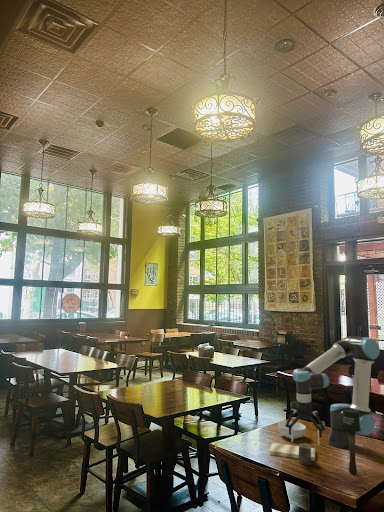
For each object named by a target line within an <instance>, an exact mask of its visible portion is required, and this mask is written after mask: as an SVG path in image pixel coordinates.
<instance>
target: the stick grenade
mask: <svg viewBox="0 0 384 512" xmlns="http://www.w3.org/2000/svg"><path fill="white" fill-rule="evenodd" d="M342 428H343V429H344V430H347V431H348V438H349V449H348V451H349V463H348V472H349V474H351V475H357V473H358V469H357V462H356V432H359V431H361V428H360V414H359V411H358V410H355V409H343V427H342Z"/></svg>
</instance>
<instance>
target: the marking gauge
mask: <svg viewBox="0 0 384 512" xmlns="http://www.w3.org/2000/svg"><path fill="white" fill-rule="evenodd" d="M298 446H299V459H298V464H299V463H300V464H301V465H308V466H312V460H311V448H312V445H311V444H308V443H298Z"/></svg>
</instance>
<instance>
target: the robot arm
mask: <svg viewBox="0 0 384 512" xmlns="http://www.w3.org/2000/svg"><path fill="white" fill-rule="evenodd" d="M380 353H381V352H380V345H379V343H378V342H377V341H376V339H374V338H371V337H366V336H365V337H364V336H355V335H349V336H346V337H343V338H342V339H339V340H338V341H336V342H335V343H333V344H332V347H331V348H330V349H328V350H326V351H325V352H324V353H322V354H320V355H319V356H318V357H316V358H315V359H314V360H312V361H311V362H310V363H308V364H307V365H306V366H304V367H303V368H301V369H300V368H296V369H294V370H293V371H292V379H293V380H294V381H295V383H296V409H294V408H291V410H290V415H289V417H288V419H287V420H286V421H287V422H286V425H285V426H286V427H288V428H289V435H291V439H290V440H291V441H290V442H292V443H293V442H294V439H293V428H292V426H293V425H294V424H295V423H296V422H297V423H298V421H299V420H300V419H301V420H306V421H308V420H309V421H310V422H311V423H312V424H313V425H314V427H315V428H316V429H317V445H318V446H319V445H320V442H321V441H320V439H321V438H322V436H323V435H322V432H324V431H326V428H325V426H324V423H323V421H322V420H321V418H320V416H319V411H318V410H314V411H313V408H312V390H316V389H324V388H327V387H329V385H330V378H329V376H328V375H327V373H322V372H323V371H325V370H326V369H328V368H329V367H330V366H331V365H333V364H334V363H336V362H337V361H339V360H340V359H344V358H345V357H348V356H352V359H353V361H354V373H353V374H354V375H353V385H352V386H353V389H352V399H351V401H352V402H351V403H350V404H349V403H333V404H331V405H330V411H329V415H330V431H329V434H328V438H327V443H328V444H329V445H330V446H332V447H335V448H339V449H345V450H346V449H347V450H349V438H348V431H347V430H344V429H343V428H342V427H343V409H355V410H358V411H359V414H360V428H361V431H359V432H355V434H358V435H362V436H368V435H370V434H371V433H372V432H373V430H375V425H376V421H375V419H374V417H373V416H372V415H371V414H372V413H371V412H372V410H371V409H370V407H369V402H370V400H369V399H370V386H371V375H372V374H371V372H372V364H375V359H377V358H378V357H379V356H380ZM294 415H297V416H296V417H295V418H294V420H292V418H293V416H294ZM312 416H314V417H315V419H316V420H317V422H316V420H315V419H314V418H313V417H312ZM291 420H292V421H291ZM290 421H291V422H292V423H291V424H290V425H289V422H290Z"/></svg>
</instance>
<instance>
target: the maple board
mask: <svg viewBox="0 0 384 512" xmlns="http://www.w3.org/2000/svg"><path fill="white" fill-rule="evenodd" d="M269 455H270V456H277V457H286V458H291V459H298V460H299V445H291V444H284V443H283V444H282V443H279V442H278V443H276V442H272V443H271V444H270V447H269ZM312 461H313V462H315V461H316V448H315V447H314V448H313V447H311V462H312Z"/></svg>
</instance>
